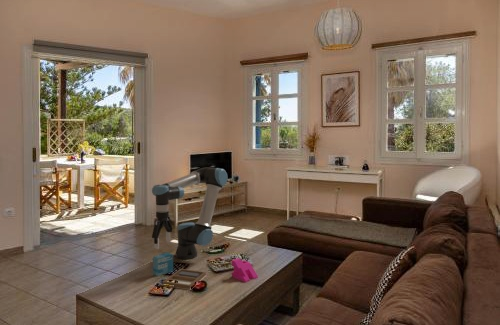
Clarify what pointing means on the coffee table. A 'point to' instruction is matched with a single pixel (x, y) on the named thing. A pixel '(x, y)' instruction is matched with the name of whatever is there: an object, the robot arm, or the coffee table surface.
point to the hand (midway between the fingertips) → (162, 245)
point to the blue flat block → (162, 264)
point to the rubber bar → (189, 274)
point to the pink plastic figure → (243, 270)
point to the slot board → (184, 279)
